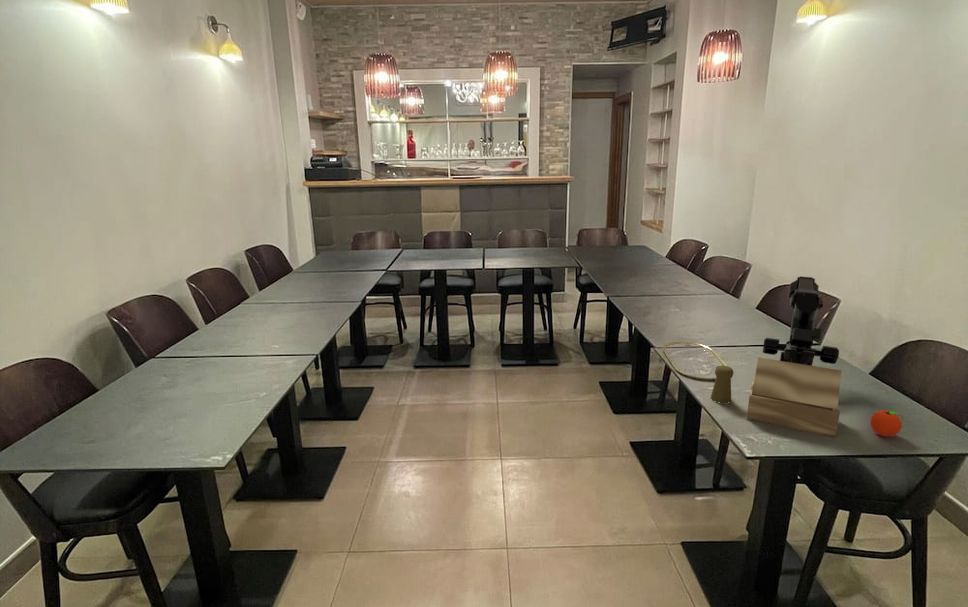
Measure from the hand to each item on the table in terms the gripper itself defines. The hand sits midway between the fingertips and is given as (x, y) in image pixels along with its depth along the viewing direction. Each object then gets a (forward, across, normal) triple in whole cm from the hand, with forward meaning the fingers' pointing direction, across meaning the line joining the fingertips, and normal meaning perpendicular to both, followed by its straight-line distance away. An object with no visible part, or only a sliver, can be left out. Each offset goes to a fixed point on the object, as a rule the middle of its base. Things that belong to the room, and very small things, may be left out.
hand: (796, 377), depth 152 cm
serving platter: (-13, -31, +33) cm, 47 cm away
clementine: (+8, +23, +11) cm, 27 cm away
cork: (+7, -19, +12) cm, 24 cm away
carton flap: (+2, 0, -1) cm, 2 cm away
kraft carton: (+9, 0, +9) cm, 13 cm away
